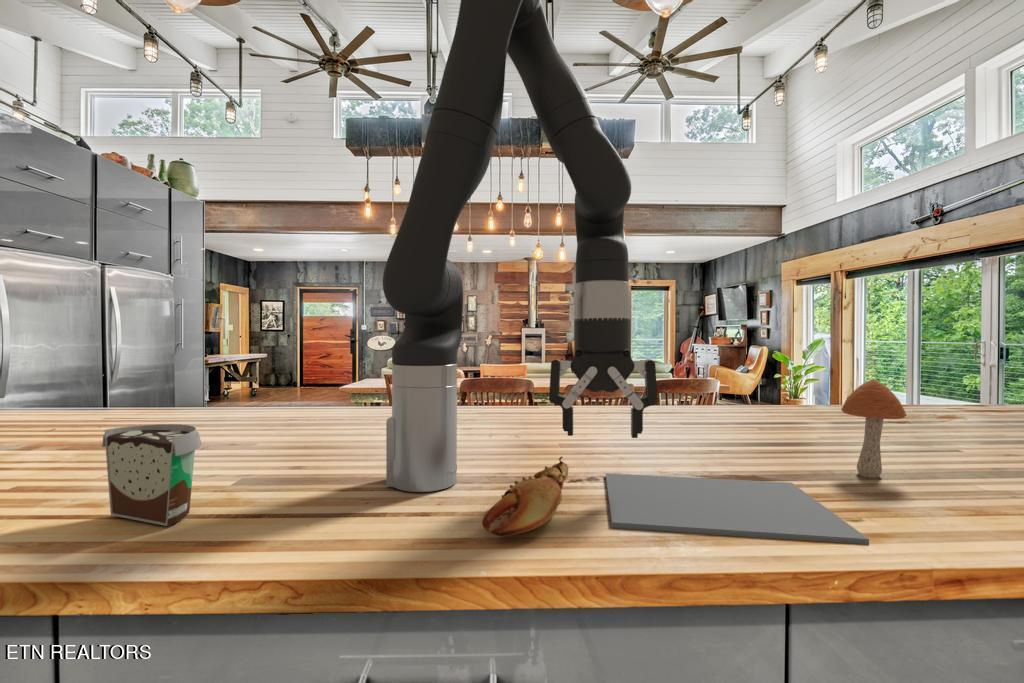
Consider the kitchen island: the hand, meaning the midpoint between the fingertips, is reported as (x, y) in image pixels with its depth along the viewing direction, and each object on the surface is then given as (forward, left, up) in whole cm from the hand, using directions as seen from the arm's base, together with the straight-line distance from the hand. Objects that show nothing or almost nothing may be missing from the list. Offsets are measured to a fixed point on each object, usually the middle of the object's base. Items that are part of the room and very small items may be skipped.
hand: (602, 435), depth 65 cm
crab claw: (-5, +1, -5) cm, 7 cm away
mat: (+14, -2, -8) cm, 16 cm away
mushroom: (+41, +14, -8) cm, 44 cm away
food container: (-52, -16, -8) cm, 55 cm away
